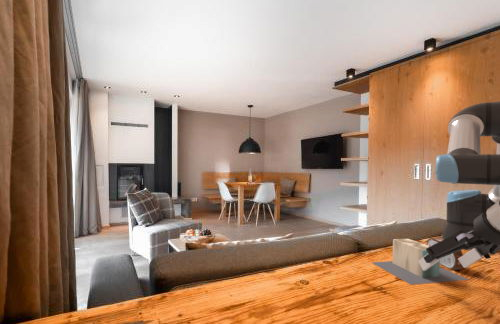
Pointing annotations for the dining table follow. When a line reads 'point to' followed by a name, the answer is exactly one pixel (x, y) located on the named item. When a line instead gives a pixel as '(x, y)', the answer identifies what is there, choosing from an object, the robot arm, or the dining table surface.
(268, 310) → the dining table surface
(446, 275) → the mat
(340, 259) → the dining table surface
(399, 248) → the block
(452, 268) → the tin
